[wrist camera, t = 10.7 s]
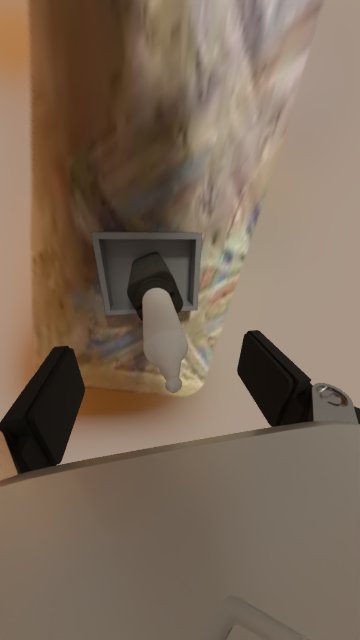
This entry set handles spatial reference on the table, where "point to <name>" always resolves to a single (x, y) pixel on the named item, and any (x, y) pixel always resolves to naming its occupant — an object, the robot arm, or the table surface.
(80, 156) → the table surface
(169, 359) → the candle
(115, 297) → the tray
